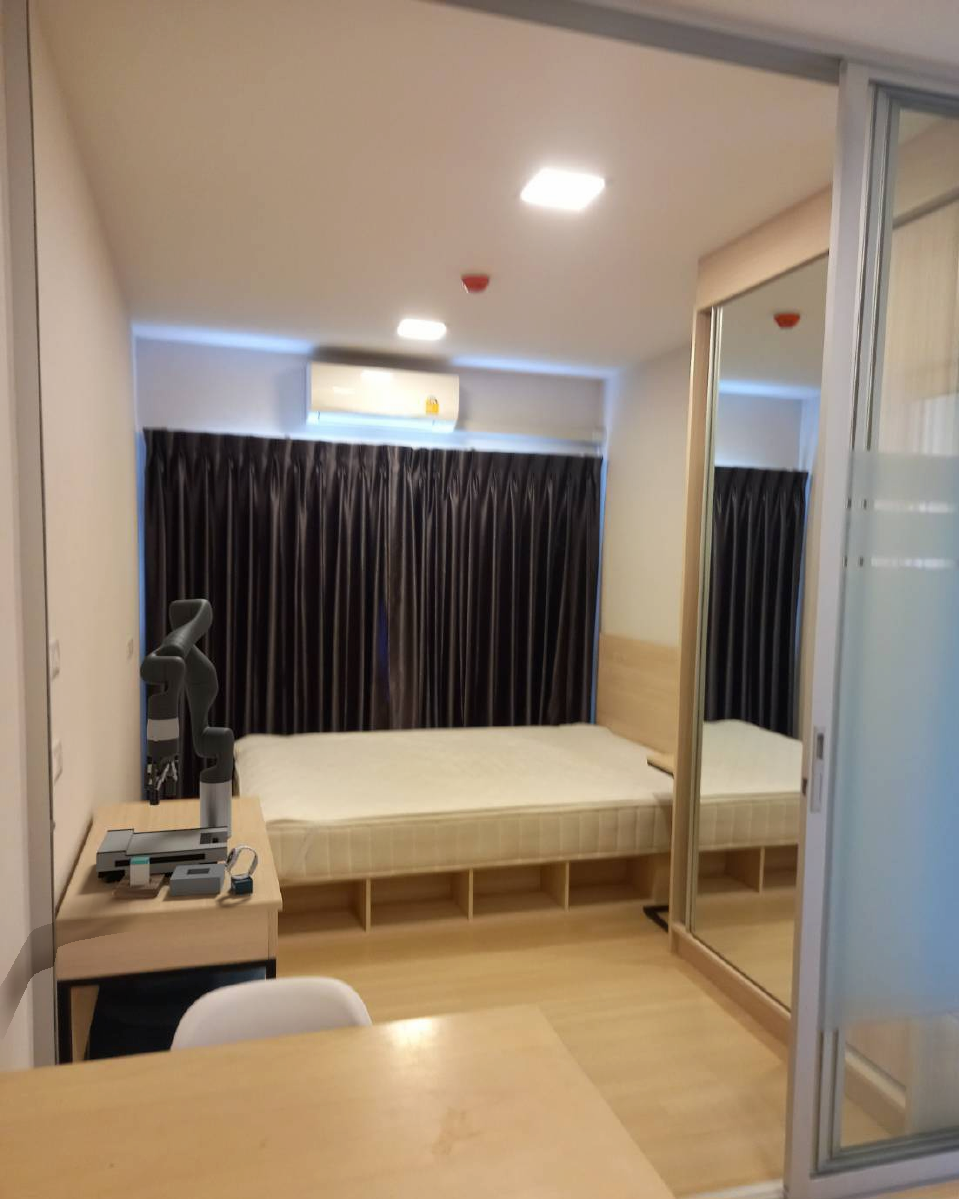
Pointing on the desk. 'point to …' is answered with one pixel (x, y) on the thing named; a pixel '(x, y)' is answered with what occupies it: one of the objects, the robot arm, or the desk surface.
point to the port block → (197, 879)
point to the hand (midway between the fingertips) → (162, 800)
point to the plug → (139, 871)
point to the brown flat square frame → (139, 888)
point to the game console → (159, 850)
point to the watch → (241, 881)
